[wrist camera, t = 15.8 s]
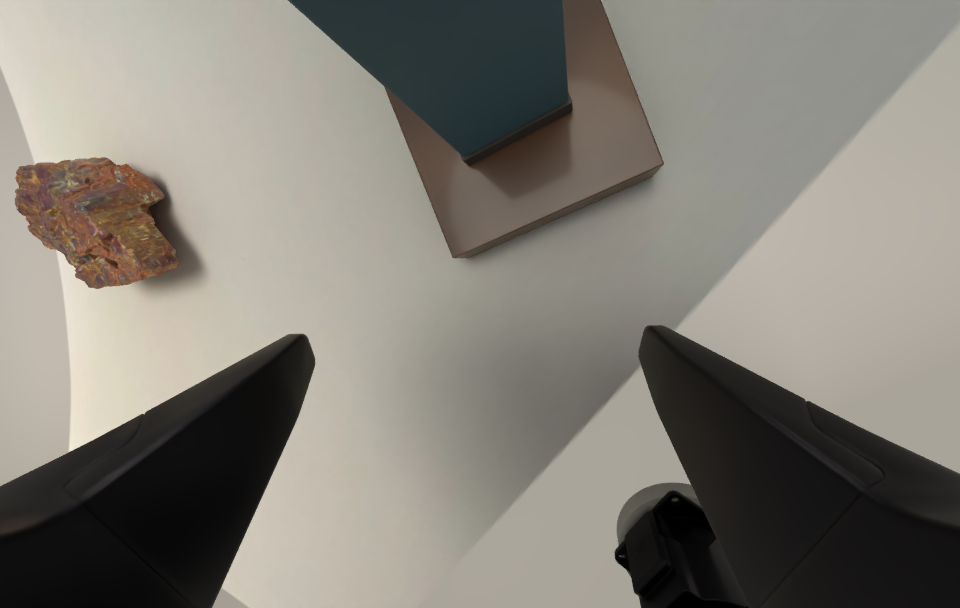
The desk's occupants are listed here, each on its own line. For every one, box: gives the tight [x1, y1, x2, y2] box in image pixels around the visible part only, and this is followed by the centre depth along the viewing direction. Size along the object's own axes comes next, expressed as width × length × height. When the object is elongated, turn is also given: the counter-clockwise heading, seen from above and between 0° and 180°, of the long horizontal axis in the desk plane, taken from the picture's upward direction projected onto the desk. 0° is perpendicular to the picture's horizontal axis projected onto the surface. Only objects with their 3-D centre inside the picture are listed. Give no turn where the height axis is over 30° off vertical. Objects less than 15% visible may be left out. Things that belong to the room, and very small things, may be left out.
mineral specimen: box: [15, 157, 178, 289], centre depth 26 cm, size 12×8×7 cm
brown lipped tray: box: [384, 0, 664, 258], centre depth 17 cm, size 16×11×6 cm
